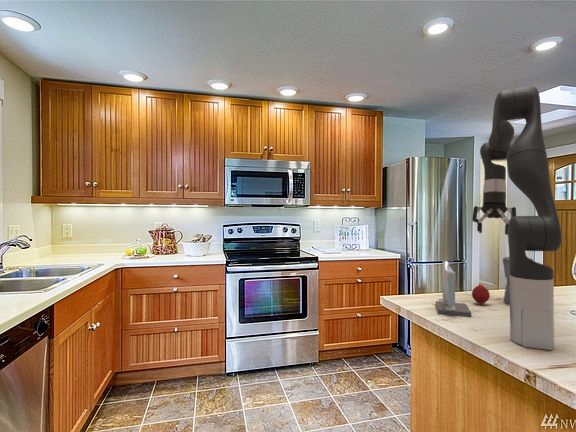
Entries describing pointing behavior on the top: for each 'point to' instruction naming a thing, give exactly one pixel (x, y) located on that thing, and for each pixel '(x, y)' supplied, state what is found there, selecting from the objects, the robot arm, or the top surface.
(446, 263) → the hinge post
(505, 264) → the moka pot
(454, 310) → the grey flat base plate
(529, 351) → the top surface
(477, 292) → the onion
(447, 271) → the grey standing sign
